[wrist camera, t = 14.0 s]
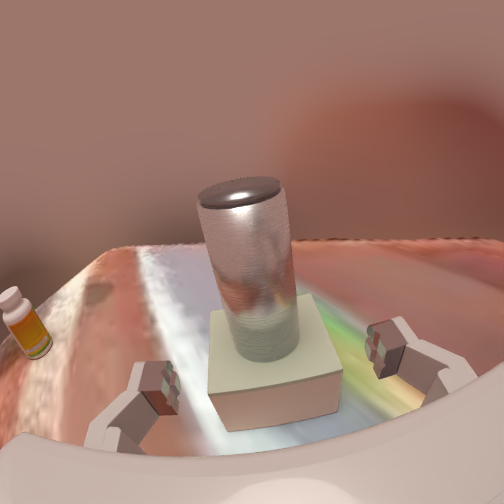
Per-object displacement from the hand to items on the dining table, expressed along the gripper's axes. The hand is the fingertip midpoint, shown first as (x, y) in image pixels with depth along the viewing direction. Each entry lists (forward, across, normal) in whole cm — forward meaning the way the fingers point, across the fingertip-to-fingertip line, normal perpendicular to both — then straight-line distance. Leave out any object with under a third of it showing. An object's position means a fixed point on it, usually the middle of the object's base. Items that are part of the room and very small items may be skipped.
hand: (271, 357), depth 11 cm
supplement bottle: (+16, +33, +13) cm, 39 cm away
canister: (+8, 0, +7) cm, 10 cm away
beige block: (+8, 0, +13) cm, 15 cm away
